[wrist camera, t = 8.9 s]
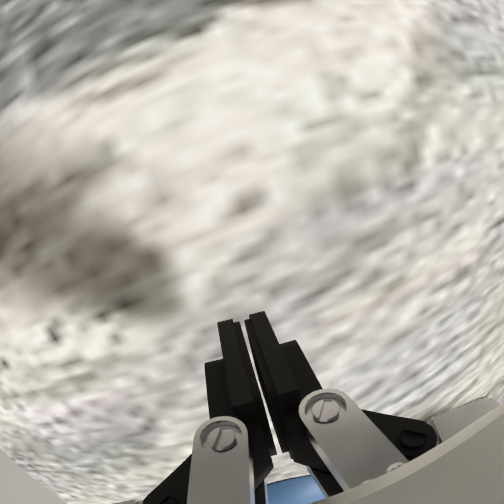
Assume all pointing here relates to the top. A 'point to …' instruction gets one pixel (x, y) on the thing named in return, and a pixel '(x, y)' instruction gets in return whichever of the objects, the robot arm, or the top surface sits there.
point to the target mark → (294, 491)
